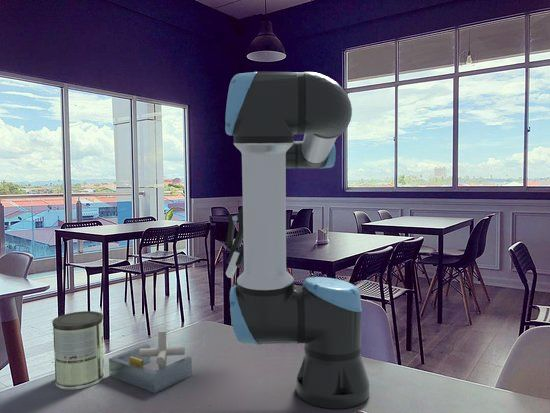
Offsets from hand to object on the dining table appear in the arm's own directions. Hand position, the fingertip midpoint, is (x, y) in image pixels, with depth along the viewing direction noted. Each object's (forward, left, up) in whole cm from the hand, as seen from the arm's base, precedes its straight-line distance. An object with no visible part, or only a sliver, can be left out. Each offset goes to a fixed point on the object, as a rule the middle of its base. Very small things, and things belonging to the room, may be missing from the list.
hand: (229, 275), depth 119 cm
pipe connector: (+2, +21, -19) cm, 29 cm away
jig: (+4, +23, -19) cm, 30 cm away
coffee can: (+15, +34, -19) cm, 42 cm away
